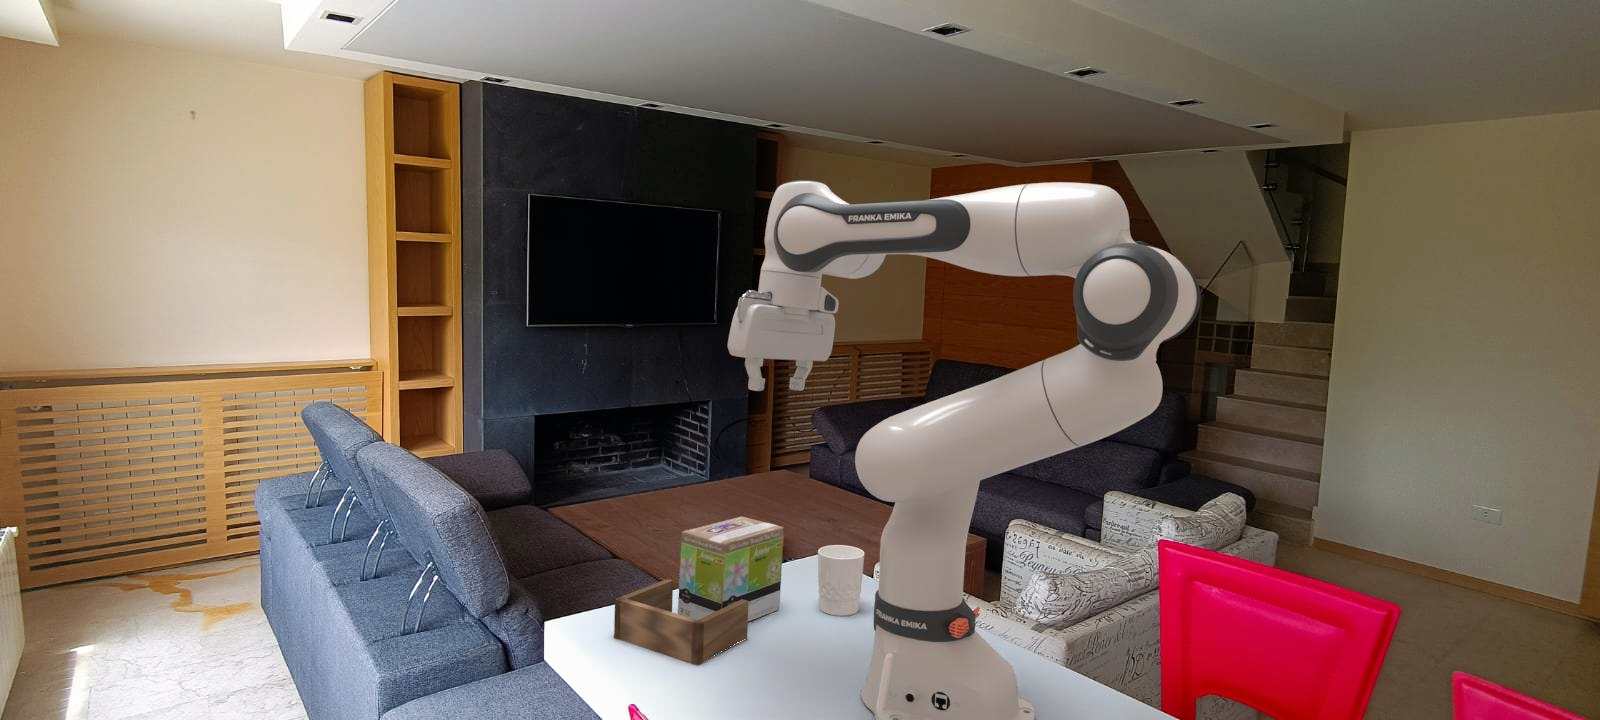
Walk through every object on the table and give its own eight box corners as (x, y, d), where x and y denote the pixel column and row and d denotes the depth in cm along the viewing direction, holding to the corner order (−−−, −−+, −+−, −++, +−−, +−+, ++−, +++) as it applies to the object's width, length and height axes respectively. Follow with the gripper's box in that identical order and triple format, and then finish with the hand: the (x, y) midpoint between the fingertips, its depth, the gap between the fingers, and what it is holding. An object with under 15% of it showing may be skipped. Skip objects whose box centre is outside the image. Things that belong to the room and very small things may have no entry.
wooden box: (747, 638, 134) (748, 600, 134) (697, 665, 124) (698, 624, 124) (666, 614, 143) (667, 578, 143) (614, 637, 133) (614, 599, 133)
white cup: (806, 610, 148) (809, 552, 147) (831, 597, 154) (834, 542, 153) (846, 621, 143) (848, 561, 142) (870, 608, 150) (873, 551, 149)
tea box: (722, 636, 135) (724, 543, 134) (676, 619, 141) (678, 530, 140) (782, 610, 147) (785, 524, 146) (737, 596, 153) (740, 513, 152)
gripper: (759, 290, 115) (746, 394, 116) (845, 302, 131) (833, 393, 132) (723, 286, 119) (711, 386, 120) (812, 298, 135) (801, 386, 136)
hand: (776, 390), depth 126 cm, fingers open, 8 cm apart
